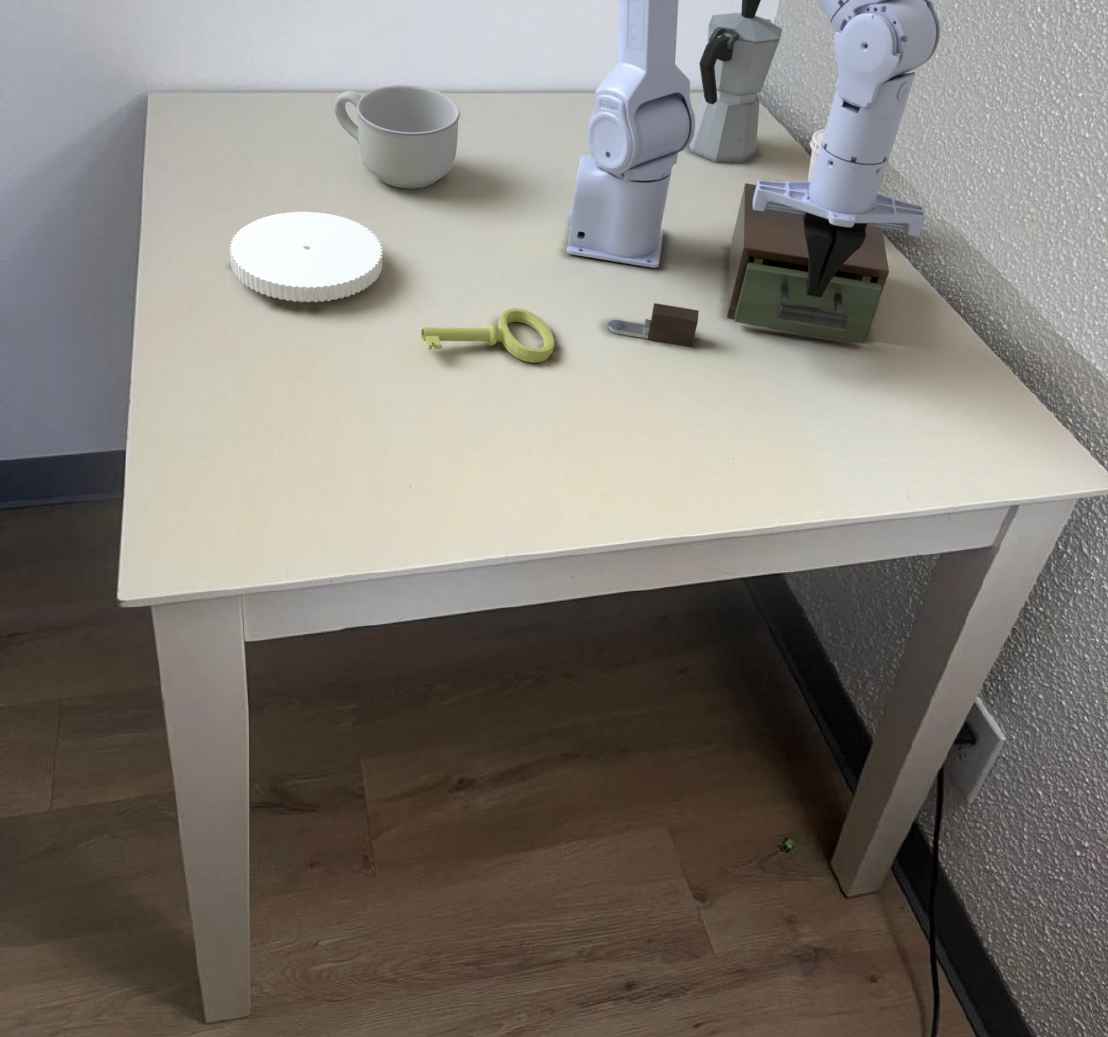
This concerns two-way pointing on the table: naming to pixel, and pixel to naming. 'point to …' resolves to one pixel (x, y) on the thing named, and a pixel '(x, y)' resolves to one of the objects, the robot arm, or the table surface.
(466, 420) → the table surface
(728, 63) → the coffee maker
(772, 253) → the cabinet
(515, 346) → the key
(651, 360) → the table surface
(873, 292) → the drawer
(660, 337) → the knife
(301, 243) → the white gear
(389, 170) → the teacup
